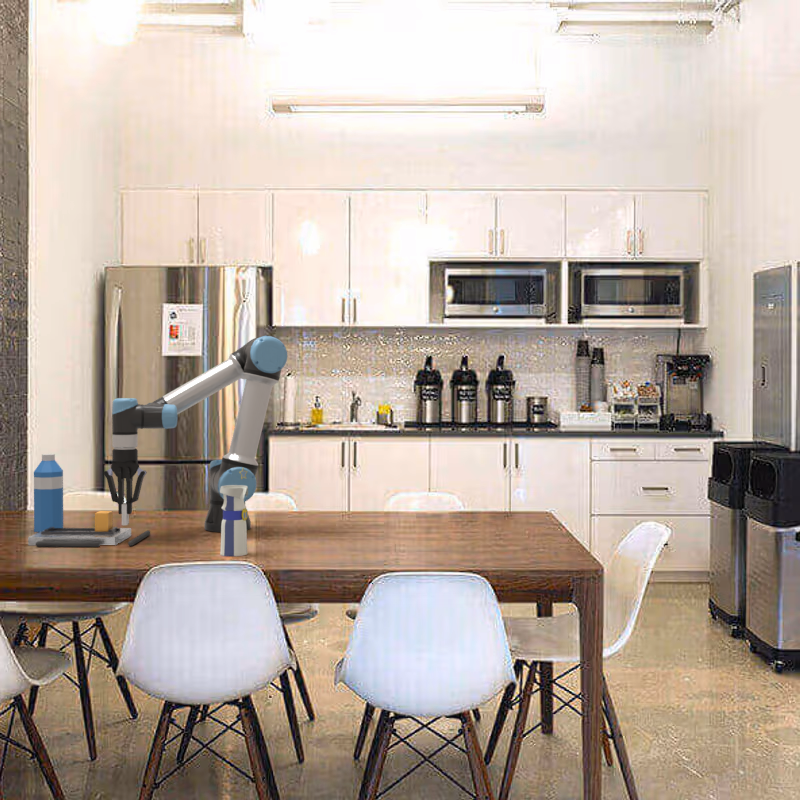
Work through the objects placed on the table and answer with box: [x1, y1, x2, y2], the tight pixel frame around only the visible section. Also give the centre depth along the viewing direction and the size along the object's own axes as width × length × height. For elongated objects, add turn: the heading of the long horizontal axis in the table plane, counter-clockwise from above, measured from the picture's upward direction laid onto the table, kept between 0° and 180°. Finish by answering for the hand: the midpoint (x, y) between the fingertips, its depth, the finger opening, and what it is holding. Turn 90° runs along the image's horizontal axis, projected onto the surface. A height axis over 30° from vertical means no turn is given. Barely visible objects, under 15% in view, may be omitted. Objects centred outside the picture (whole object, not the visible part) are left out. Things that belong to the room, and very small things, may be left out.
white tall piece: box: [219, 468, 249, 557], centre depth 289 cm, size 8×9×25 cm
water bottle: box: [33, 453, 64, 533], centre depth 331 cm, size 9×9×25 cm
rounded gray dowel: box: [127, 530, 151, 547], centre depth 311 cm, size 21×2×2 cm, turn 0°
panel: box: [27, 526, 132, 546], centre depth 311 cm, size 26×18×4 cm
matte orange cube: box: [94, 510, 114, 531], centre depth 311 cm, size 4×5×6 cm
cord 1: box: [35, 541, 101, 548], centre depth 300 cm, size 19×2×2 cm, turn 90°
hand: (125, 524), depth 311 cm, fingers closed
